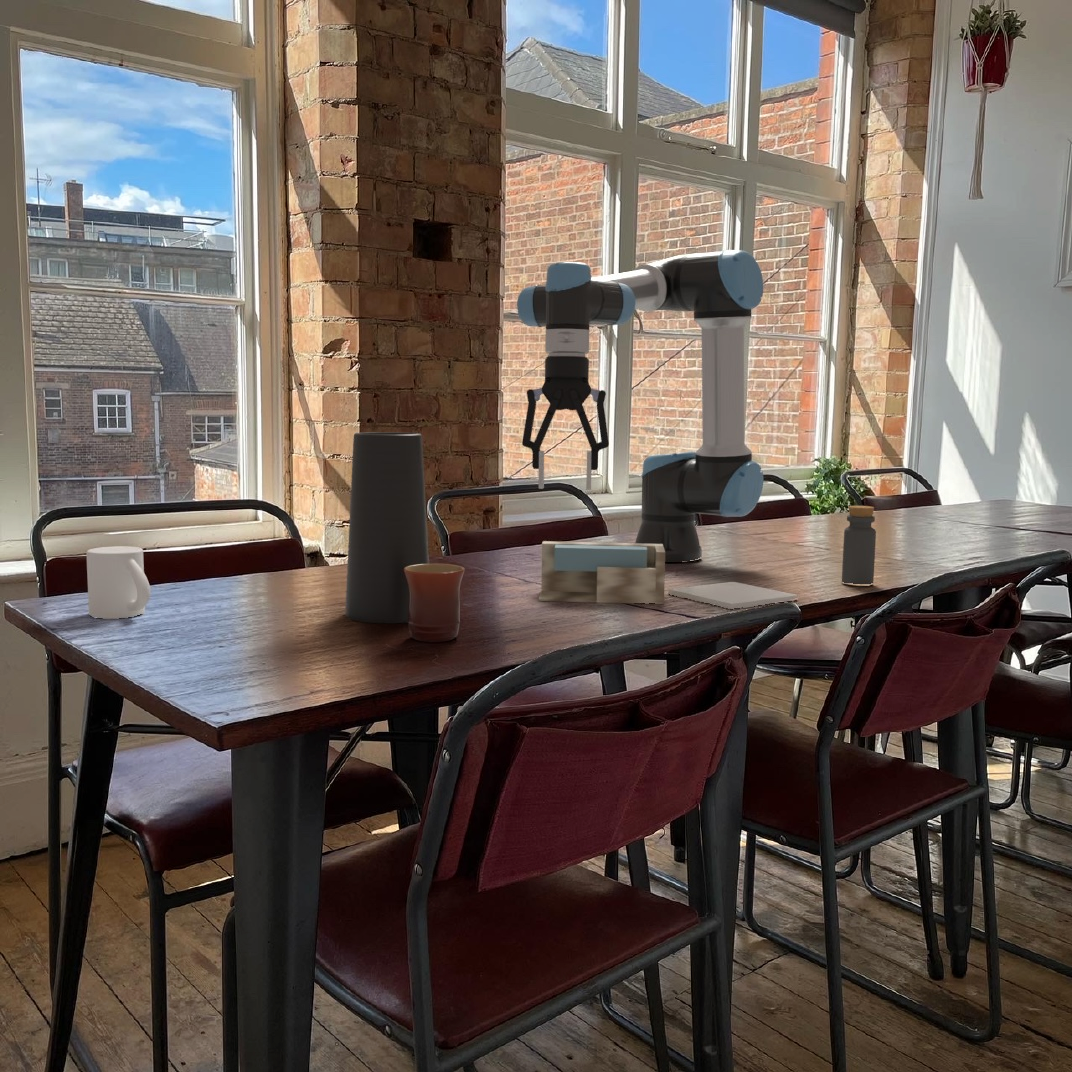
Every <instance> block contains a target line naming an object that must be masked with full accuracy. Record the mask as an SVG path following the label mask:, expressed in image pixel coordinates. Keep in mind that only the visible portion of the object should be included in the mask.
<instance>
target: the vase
mask: <svg viewBox="0 0 1072 1072" xmlns="http://www.w3.org/2000/svg"><path fill="white" fill-rule="evenodd" d="M423 449H424V447H423V436H422V434H421V433H416V432H396V431H395V432H392V431H391V432H387V431H386V432H385V431H384V432H379V431H378V432H377V431H375V432H372V431H371V432H370V431H368V432H356V433H354V434H353V441H352V461H351V464H352V466H351V482H350V483H351V485H350V487H351V488H350V505H349V527H348V545H347V546H348V548H347V549H348V550H347V567H346V591H345V594H346V595H345V617H346V618H347V619H348V620H352V621H354V622H360V623H369V624H404V623H408V608H409V588H408V583H407V580H406V576H405V573H404V568H405V567H407V566H411V565H418V564H430V557H429V540H428V538H429V537H428V523H427V505H426V501H427V500H426V489H425V485H426V484H425V483H426V482H425V469H424V468H425V467H424V451H423Z"/></svg>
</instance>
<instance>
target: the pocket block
mask: <svg viewBox="0 0 1072 1072" xmlns="http://www.w3.org/2000/svg"><path fill="white" fill-rule="evenodd" d="M555 545H597V546H642V547H647V568H632V567H597V571H557V570H554V552H555ZM665 573H666V563H665V550H664V547H663V544H642V543H634V542H630V543H629V542H599V541H598V542H591V541H590V542H589V541H587V542H585V541H552V540H551V541H550V540H548V541H547V540H543V541H542V543H541V585H540V586H541V591H540V594H539V596H538V601H539V602H556V603H557V602H558V603H559V602H562V603H563V602H564V603H568V602H569V603H594V604H595V603H602V604H634V603H645V605H650V604H649V603H655V604H654V605H665V584H666V583H665V581H666V580H665V578H666V576H665V575H666V574H665Z"/></svg>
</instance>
